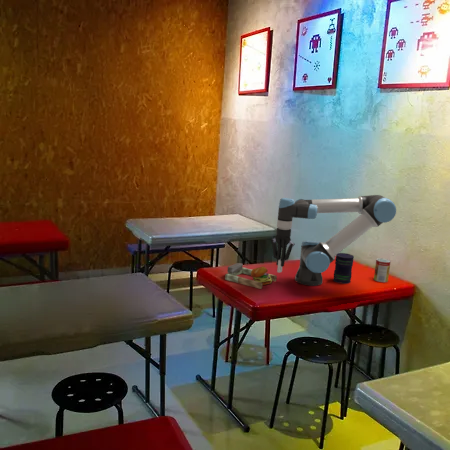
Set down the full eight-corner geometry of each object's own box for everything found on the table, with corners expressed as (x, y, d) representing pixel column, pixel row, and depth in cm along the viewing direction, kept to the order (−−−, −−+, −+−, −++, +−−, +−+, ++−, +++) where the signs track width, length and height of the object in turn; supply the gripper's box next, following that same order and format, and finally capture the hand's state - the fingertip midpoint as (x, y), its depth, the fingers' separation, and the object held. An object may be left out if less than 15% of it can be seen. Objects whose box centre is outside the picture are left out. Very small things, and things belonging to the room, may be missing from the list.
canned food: (386, 278, 291) (388, 258, 288) (389, 282, 283) (392, 262, 281) (372, 277, 291) (375, 257, 289) (375, 281, 284) (377, 261, 281)
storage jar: (346, 284, 274) (349, 258, 271) (330, 280, 280) (333, 255, 277) (353, 281, 282) (356, 255, 279) (337, 276, 288) (340, 252, 285)
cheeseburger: (273, 286, 263) (270, 268, 261) (253, 289, 264) (250, 272, 262) (271, 280, 273) (268, 263, 271) (252, 283, 274) (249, 266, 271)
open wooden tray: (276, 280, 273) (277, 270, 272) (260, 288, 258) (261, 277, 257) (240, 271, 285) (241, 261, 284) (223, 279, 270) (224, 268, 269)
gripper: (298, 229, 255) (293, 273, 260) (276, 224, 262) (271, 267, 267) (292, 231, 249) (287, 276, 254) (269, 226, 256) (265, 270, 261)
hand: (279, 271), depth 261 cm, fingers closed
